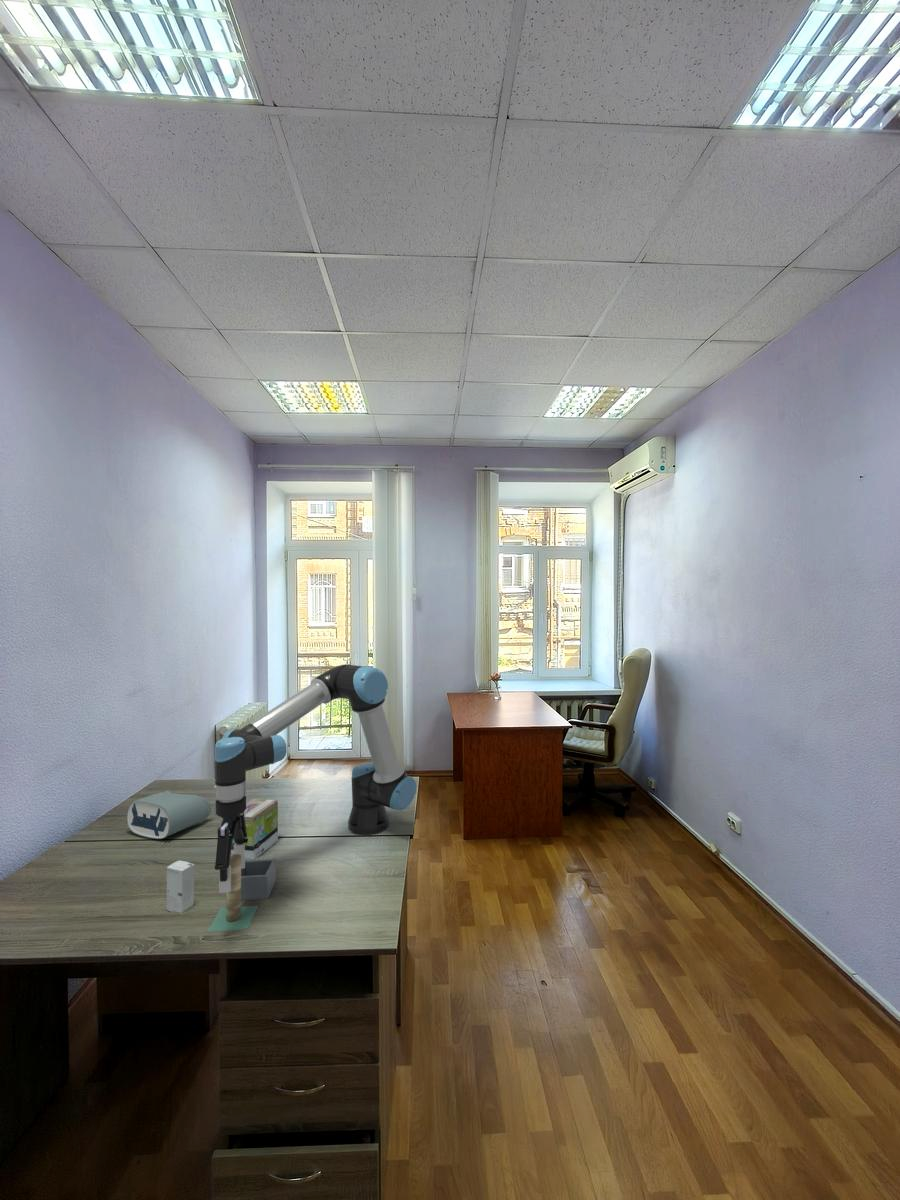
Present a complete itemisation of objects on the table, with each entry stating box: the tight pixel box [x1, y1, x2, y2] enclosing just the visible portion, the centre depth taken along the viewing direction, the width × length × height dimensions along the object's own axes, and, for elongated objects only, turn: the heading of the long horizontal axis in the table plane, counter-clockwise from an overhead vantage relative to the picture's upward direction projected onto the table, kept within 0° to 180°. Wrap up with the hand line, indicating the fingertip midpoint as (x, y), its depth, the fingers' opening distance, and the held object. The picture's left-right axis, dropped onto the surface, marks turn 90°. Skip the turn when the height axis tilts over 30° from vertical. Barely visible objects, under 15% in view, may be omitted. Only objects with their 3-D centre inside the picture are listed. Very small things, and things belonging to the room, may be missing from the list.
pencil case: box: [125, 790, 212, 840], centre depth 196 cm, size 22×19×13 cm
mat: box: [207, 905, 259, 933], centre depth 139 cm, size 10×10×1 cm
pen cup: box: [241, 858, 277, 901], centre depth 152 cm, size 10×10×7 cm
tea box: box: [230, 798, 279, 860], centre depth 178 cm, size 15×10×15 cm, turn 168°
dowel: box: [225, 854, 242, 922], centre depth 139 cm, size 4×4×16 cm
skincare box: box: [166, 860, 195, 914], centre depth 144 cm, size 6×4×12 cm
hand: (232, 879), depth 138 cm, fingers open, 11 cm apart
